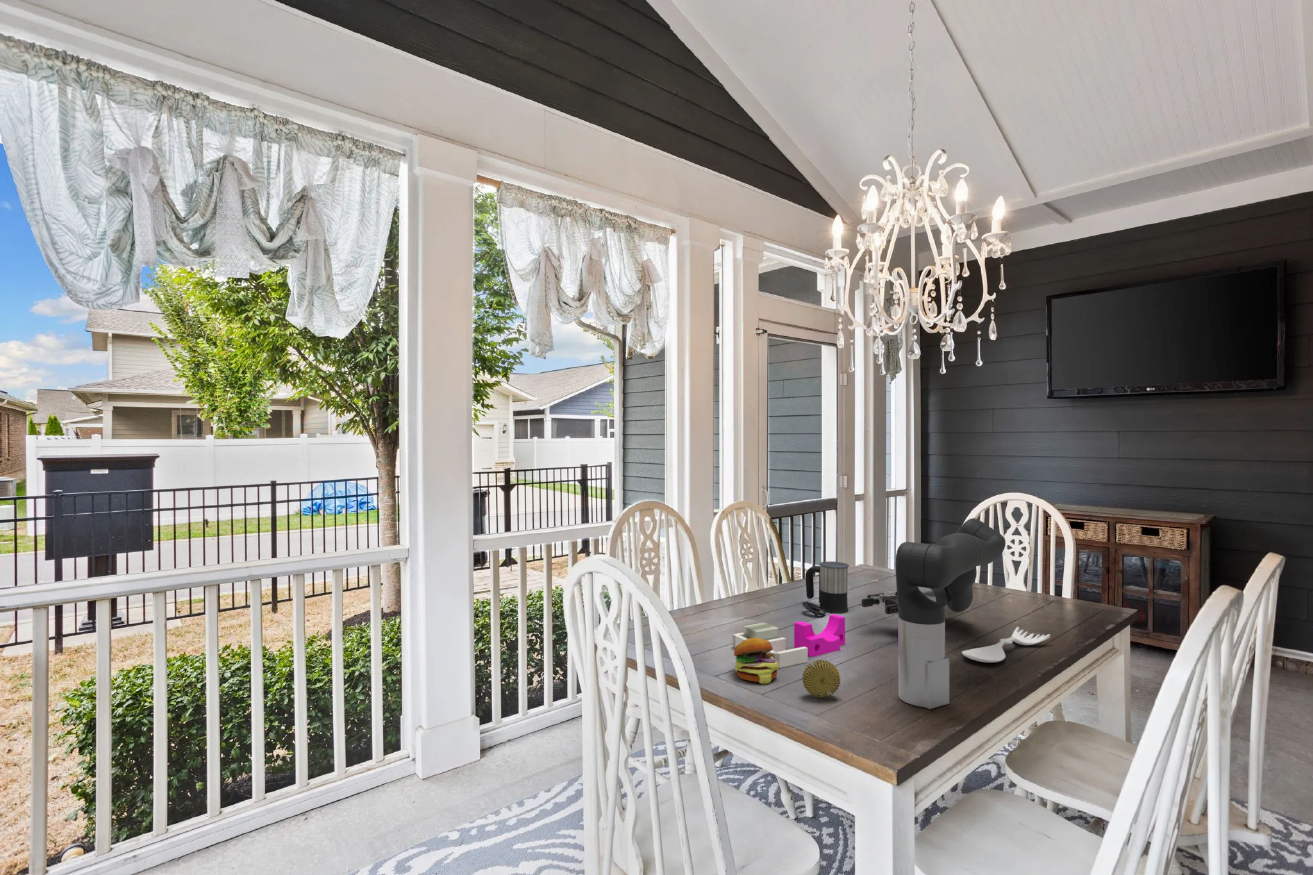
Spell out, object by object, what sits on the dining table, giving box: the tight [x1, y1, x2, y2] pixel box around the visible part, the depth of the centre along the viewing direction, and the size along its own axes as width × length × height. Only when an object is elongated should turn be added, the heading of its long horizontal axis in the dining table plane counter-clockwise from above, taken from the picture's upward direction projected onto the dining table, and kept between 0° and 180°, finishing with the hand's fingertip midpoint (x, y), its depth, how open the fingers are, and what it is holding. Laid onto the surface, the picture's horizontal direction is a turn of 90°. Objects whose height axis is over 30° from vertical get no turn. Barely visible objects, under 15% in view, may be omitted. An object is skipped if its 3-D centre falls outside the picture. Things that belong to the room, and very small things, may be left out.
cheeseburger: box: [733, 638, 780, 685], centre depth 154 cm, size 10×11×10 cm
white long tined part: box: [961, 626, 1051, 664], centre depth 169 cm, size 9×32×4 cm, turn 126°
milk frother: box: [801, 560, 850, 617], centre depth 208 cm, size 14×16×15 cm
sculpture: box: [802, 659, 841, 699], centre depth 141 cm, size 8×4×8 cm, turn 88°
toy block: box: [793, 613, 846, 658], centre depth 173 cm, size 15×6×8 cm, turn 122°
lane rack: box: [732, 632, 809, 669], centre depth 168 cm, size 18×10×4 cm, turn 28°
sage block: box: [743, 622, 780, 640], centre depth 172 cm, size 6×7×6 cm
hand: (874, 606), depth 180 cm, fingers open, 8 cm apart
